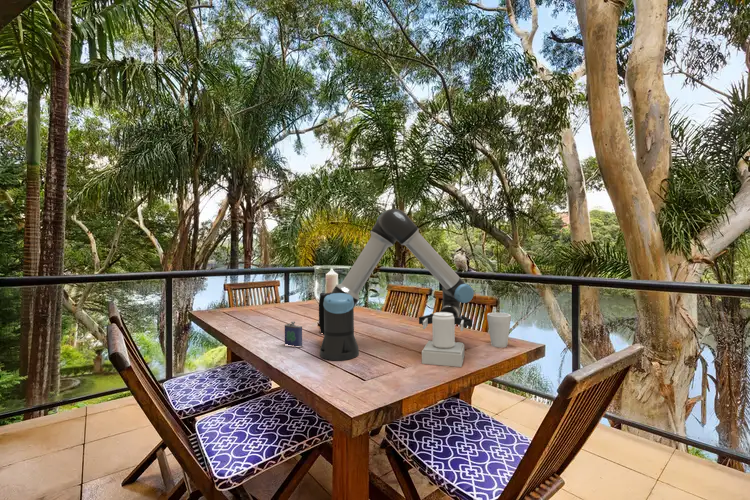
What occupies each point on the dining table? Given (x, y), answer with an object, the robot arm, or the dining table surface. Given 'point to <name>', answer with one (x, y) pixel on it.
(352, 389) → the dining table surface
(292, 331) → the flask
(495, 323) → the foam cup
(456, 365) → the pedestal
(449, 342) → the beverage can
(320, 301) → the portable speaker
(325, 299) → the robot arm
